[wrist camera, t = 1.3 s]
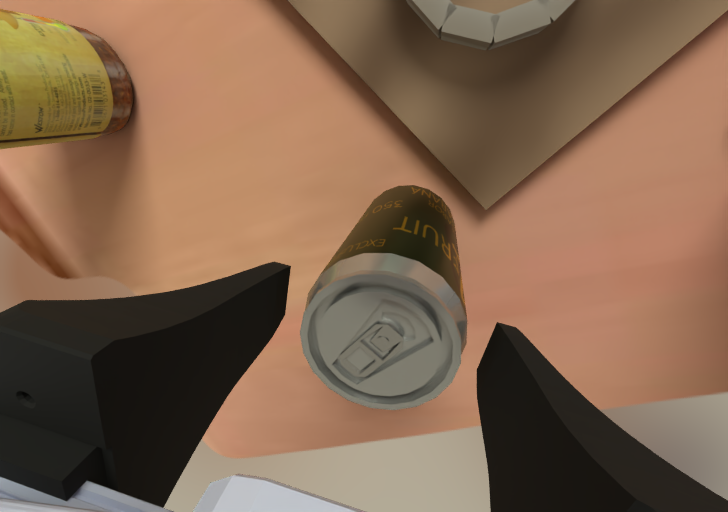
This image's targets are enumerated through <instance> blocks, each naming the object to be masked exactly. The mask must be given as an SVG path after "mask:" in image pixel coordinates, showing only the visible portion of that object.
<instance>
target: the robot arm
mask: <svg viewBox="0 0 728 512" xmlns="http://www.w3.org/2000/svg"><path fill="white" fill-rule="evenodd" d="M290 268H291V266H288V265H285V264H281V263H277V262H271V263H267V264H264V265H261V266H258V267H255V268H252V269H249V270H246V271H243V272H240V273H237V274H234V275H231V276H228V277H225V278H222V279H218V280H215V281H211V282H208V283H205V284H201V285H197V286H193V287H189V288H184V289H179V290H174V291H169V292H164V293H157V294H149V295H142V296H134V297H126V298H113V299H98V300H45V301H44V300H40V301H39V300H38V301H37V300H27V301H24V302H22V303H20V304H18V305H16V306H14V307H11V308H9V309H7V310H5V311H3V312H1V313H0V512H173V511H170V510H168V509H165V508H163V507H164V505H165V504H166V502H167V500H168V498H169V496H170V494H171V492H172V490H173V488H174V487H175V485H176V483H177V481H178V479H179V478H180V476H181V474H182V472H183V470H184V469H185V467H186V465H187V463H188V461H189V460H190V458H191V456H192V454H193V452H194V451H195V449H196V447H197V446H198V444H199V442H200V441H201V439H202V437H203V436H204V434H205V432H206V430H207V429H208V427H209V425H210V424H211V422H212V420H213V419H214V417H215V415H216V414H217V412H218V411H219V409H220V407H221V406H222V404H223V403H224V401H225V399H226V398H227V396H228V395H229V393H230V392H231V390H232V389H233V388H234V386H235V385H236V383H237V382H238V381H239V380H240V378H241V377H242V376H243V374H244V373H245V372H246V371H247V369H248V368H249V367H250V365H251V364H252V363H253V362H254V360H255V359H256V358H257V356H258V355H259V354H260V353H261V351H262V350H263V349H264V347H265V346H266V345H267V343H268V342H269V341H270V339H271V338H272V337H273V335H274V333H275V331H276V330H277V328H278V326H279V325H280V323H281V321H282V319H283V317H284V315H285V310H286V301H287V293H288V285H289V276H290ZM477 400H478V407H479V414H480V420H481V426H482V433H483V439H484V444H485V451H486V458H487V464H488V473H489V487H490V506H491V512H728V501H727V500H726V499H724V498H722V497H721V496H719V495H717V494H715V493H714V492H712V491H711V490H709V489H708V488H706V487H705V486H703V485H701V484H700V483H698V482H697V481H695V480H694V479H692V478H690V477H689V476H688V475H686V474H684V473H683V472H681V471H680V470H678V469H677V468H675V467H674V466H672V465H671V464H669V463H668V462H666V461H665V460H664V459H662V458H661V457H659V456H658V455H656V454H655V453H653V452H652V451H651V450H650V449H648V448H647V447H645V446H644V445H643V444H641V443H640V442H638V441H637V440H636V439H635V438H633V437H632V436H630V435H629V434H628V433H627V432H625V431H624V430H623V429H622V428H620V427H619V426H618V425H616V424H615V423H614V422H613V421H612V420H610V419H609V418H608V417H607V416H606V415H604V414H603V413H602V412H601V411H600V410H599V409H597V408H596V407H595V406H594V405H593V404H592V403H590V402H589V401H588V400H587V399H586V398H585V397H584V396H583V395H582V394H581V393H580V392H579V391H578V390H576V389H575V388H574V387H573V386H572V385H571V384H570V383H569V382H568V381H567V380H566V379H565V378H564V377H563V376H562V375H561V374H560V373H559V372H558V371H557V370H556V369H555V368H554V367H553V366H552V364H551V363H550V362H549V361H548V360H547V359H546V358H545V357H544V356H543V355H542V354H541V353H540V352H539V351H538V349H537V348H536V347H535V346H534V345H533V344H532V343H531V342H530V341H529V340H528V339H527V338H526V337H525V336H524V335H523V333H521V332H520V331H519V330H518V329H517V328H516V327H513V326H509V325H505V324H502V323H498V322H497V324H496V326H495V329H494V331H493V333H492V336H491V338H490V340H489V343H488V345H487V347H486V350H485V352H484V354H483V357H482V359H481V361H480V364H479V366H478V368H477ZM193 512H365V511H362V510H359V509H356V508H353V507H350V506H347V505H344V504H341V503H338V502H335V501H332V500H329V499H327V498H324V497H321V496H318V495H315V494H312V493H309V492H306V491H303V490H300V489H297V488H294V487H291V486H288V485H285V484H282V483H279V482H276V481H273V480H271V479H268V478H262V477H256V476H250V475H243V474H237V475H233V476H229V477H226V478H223V479H220V480H218V481H215V482H211V483H210V484H209V486H208V488H207V489H206V491H205V492H204V494H203V496H202V497H201V499H200V501H199V502H198V504H197V505H196V507H195V509H194V510H193Z"/></svg>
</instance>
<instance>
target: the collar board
mask: <svg viewBox="0 0 728 512" xmlns="http://www.w3.org/2000/svg"><path fill="white" fill-rule="evenodd" d="M288 1H289V2H290V4H291V5H292V6H293V7H294V8H295V9H296V10H297V11H298V12H299V13H300V14H301V15H302V16H303V17H304V18H305V19H306V20H307V22H308V23H309V24H310V25H311V26H312V27H313V28H314V29H315V30H316V31H317V32H318V33H319V34H320V35H321V36H322V37H323V38H324V39H325V41H326V42H327V43H328V44H329V45H330V46H331V47H332V48H333V49H334V50H335V51H336V52H337V53H338V54H339V55H340V56H341V57H342V58H343V60H344V61H345V62H346V63H347V64H348V65H349V66H350V67H351V68H352V69H353V70H354V71H355V72H356V73H357V74H358V75H359V76H360V77H361V79H362V80H363V81H364V82H365V83H366V84H367V85H368V86H369V87H370V88H371V89H372V90H373V91H374V92H375V93H376V94H377V95H378V97H379V98H380V99H381V100H382V101H383V102H384V103H385V104H386V105H387V106H388V107H389V108H390V109H391V110H392V111H393V112H394V113H395V114H396V116H397V117H398V118H399V119H400V120H401V121H402V122H403V123H404V124H405V125H406V126H407V127H408V128H409V129H410V130H411V131H412V132H413V133H414V135H415V136H416V137H417V138H418V139H419V140H420V141H421V142H422V143H423V144H424V145H425V146H426V147H427V148H428V149H429V150H430V151H431V152H432V154H433V155H434V156H435V157H436V158H437V159H438V160H439V161H440V162H441V163H442V164H443V165H444V166H445V167H446V168H447V169H448V170H449V172H450V173H451V174H452V175H453V176H454V177H455V178H456V179H457V180H458V181H459V182H460V183H461V184H462V185H463V186H464V187H465V188H466V189H467V191H468V192H469V193H470V194H471V195H472V196H473V197H474V198H475V199H476V200H477V201H478V202H479V203H480V204H481V205H482V206H483V207H484V208H485V210H487V209H488V208H489V207H490V206H492V205H493V204H494V203H495V202H496V201H498V200H499V199H500V198H501V197H502V196H504V195H505V194H506V193H507V192H509V191H510V190H511V189H512V188H513V187H515V186H516V185H517V184H518V183H519V182H521V181H522V180H523V179H524V178H525V177H527V176H528V175H529V174H530V173H531V172H533V171H534V170H535V169H536V168H538V167H539V166H540V165H541V164H542V163H544V162H545V161H546V160H547V159H548V158H550V157H551V156H552V155H553V154H554V153H556V152H557V151H558V150H559V149H561V148H562V147H563V146H564V145H565V144H567V143H568V142H569V141H570V140H571V139H573V138H574V137H575V136H576V135H577V134H579V133H580V132H581V131H582V130H583V129H585V128H586V127H587V126H588V125H590V124H591V123H592V122H593V121H594V120H596V119H597V118H598V117H599V116H600V115H602V114H603V113H604V112H605V111H606V110H608V109H609V108H610V107H611V106H612V105H614V104H615V103H616V102H617V101H619V100H620V99H621V98H622V97H623V96H625V95H626V94H627V93H628V92H629V91H631V90H632V89H633V88H634V87H635V86H637V85H638V84H639V83H640V82H642V81H643V80H644V79H645V78H646V77H648V76H649V75H650V74H651V73H652V72H654V71H655V70H656V69H657V68H658V67H660V66H661V65H662V64H663V63H664V62H666V61H667V60H668V59H669V58H671V57H672V56H673V55H674V54H675V53H677V52H678V51H679V50H680V49H681V48H683V47H684V46H685V45H686V44H687V43H689V42H690V41H691V40H692V39H694V38H695V37H696V36H697V35H698V34H700V33H701V32H702V31H703V30H704V29H706V28H707V27H708V26H709V25H710V24H712V23H713V22H714V21H715V20H716V19H718V18H719V17H720V16H721V15H723V14H724V13H725V12H726V11H727V10H728V0H288Z"/></svg>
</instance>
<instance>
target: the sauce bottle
mask: <svg viewBox="0 0 728 512" xmlns="http://www.w3.org/2000/svg"><path fill="white" fill-rule="evenodd" d="M132 93H133V90H132V88H131V80H130V77H129V75H128V73H127V71H126V69H125V67H124V64H123V63H122V61H121V60H120V59H119V57H118V55H117V54H116V52H115V51H114V50H113V49H112V48H111V46H110V45H109V44H108V43H107V42H106V41H105V40H103V39H102V38H100V37H98V36H97V35H95V34H93V33H91V32H89V31H88V30H86V29H83V28H79V27H76V26H71V25H68V24H66V23H64V22H62V21H58V20H54V19H49V18H44V17H38V16H33V15H28V14H24V13H19V12H13V11H8V10H3V9H0V149H6V148H14V147H23V146H32V145H41V144H50V143H59V142H68V141H77V140H86V139H93V138H96V137H99V136H101V135H107V134H111V133H113V132H115V131H118V130H119V129H121V128H123V127H124V126H125V124H126V123H127V121H128V119H129V117H130V113H131V107H132V104H133V95H132Z"/></svg>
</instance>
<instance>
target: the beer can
mask: <svg viewBox="0 0 728 512" xmlns="http://www.w3.org/2000/svg"><path fill="white" fill-rule="evenodd" d="M300 336H301V342H302V348H303V353H304V355H305V357H306V359H307V361H308V363H309V365H310V367H311V368H312V370H313V372H314V373H315V374H316V375H317V376H318V377H319V378H320V379H321V380H322V381H323V383H324V384H325V385H326V386H327V387H328V388H329V389H331V390H333V391H334V392H336V393H337V394H339V395H341V396H342V397H344V398H345V399H347V400H349V401H352V402H355V403H358V404H360V405H363V406H366V407H369V408H377V409H387V410H398V409H404V408H411V407H417V406H419V405H421V404H423V403H425V402H427V401H430V400H432V399H434V398H436V397H437V396H438V395H439V394H440V393H441V392H442V391H443V390H445V389H446V388H447V387H448V386H449V385H450V384H451V383H452V381H453V379H454V377H455V374H456V372H457V370H458V368H459V366H460V364H461V354H462V352H463V350H464V348H465V346H466V339H467V315H466V308H465V300H464V293H463V285H462V277H461V270H460V262H459V254H458V247H457V239H456V231H455V224H454V220H453V217H452V214H451V211H450V209H449V208H448V206H447V205H446V204H445V202H444V201H443V200H442V198H441V197H439V196H438V195H436V194H435V193H433V192H432V191H430V190H429V189H425V188H422V187H418V186H415V185H410V186H397V187H395V188H392V189H389V190H387V191H385V192H383V193H382V194H381V195H380V196H378V197H377V198H376V199H375V200H374V201H373V202H372V204H371V205H370V206H369V208H368V209H367V210H366V212H365V213H364V215H363V216H362V217H361V219H360V220H359V222H358V223H357V224H356V226H355V227H354V229H353V230H352V231H351V233H350V234H349V235H348V237H347V238H346V240H345V241H344V242H343V244H342V245H341V247H340V248H339V249H338V251H337V252H336V254H335V255H334V256H333V258H332V259H331V261H330V262H329V263H328V265H327V266H326V267H325V269H324V270H323V272H322V273H321V274H320V276H319V277H318V279H317V281H316V282H315V284H314V285H313V287H312V288H311V290H310V292H309V293H308V297H307V302H306V307H305V312H304V315H303V320H302V325H301V330H300Z"/></svg>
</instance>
